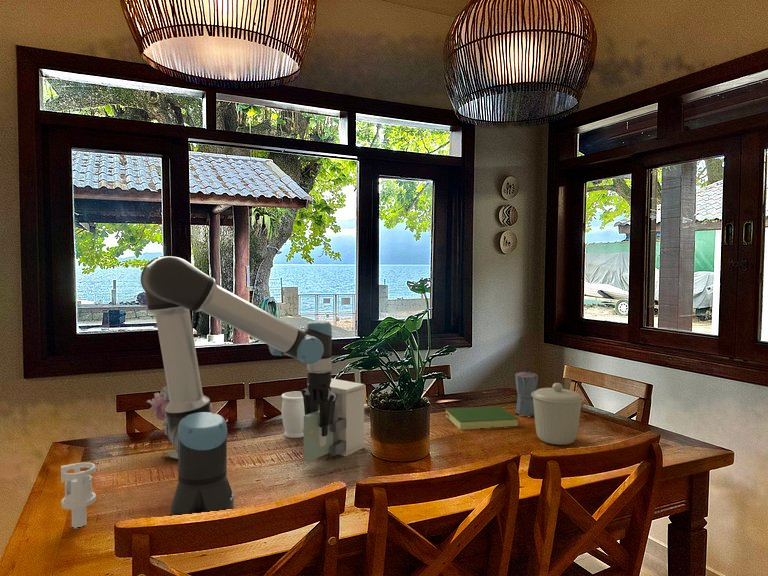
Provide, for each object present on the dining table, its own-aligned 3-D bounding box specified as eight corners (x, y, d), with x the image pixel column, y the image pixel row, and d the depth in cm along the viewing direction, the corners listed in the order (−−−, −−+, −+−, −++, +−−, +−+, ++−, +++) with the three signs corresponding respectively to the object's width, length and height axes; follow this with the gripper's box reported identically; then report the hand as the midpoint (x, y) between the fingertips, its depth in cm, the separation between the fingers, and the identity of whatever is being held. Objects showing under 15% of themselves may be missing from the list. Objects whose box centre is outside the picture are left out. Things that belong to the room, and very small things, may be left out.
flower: (238, 447, 172) (223, 375, 179) (178, 461, 153) (163, 380, 160) (202, 462, 181) (188, 393, 188) (141, 477, 163) (128, 399, 170)
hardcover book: (498, 414, 222) (498, 405, 222) (518, 428, 203) (518, 418, 203) (442, 417, 217) (442, 408, 217) (457, 431, 198) (458, 421, 198)
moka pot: (513, 418, 215) (514, 370, 214) (514, 408, 230) (516, 363, 229) (537, 420, 212) (538, 372, 211) (537, 410, 227) (538, 365, 226)
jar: (304, 440, 184) (304, 398, 183) (276, 438, 186) (276, 397, 185) (313, 431, 194) (314, 391, 194) (288, 429, 197) (288, 390, 196)
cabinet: (334, 462, 165) (334, 393, 164) (294, 450, 174) (295, 385, 173) (364, 447, 178) (364, 384, 177) (325, 437, 187) (326, 377, 186)
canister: (519, 436, 192) (521, 380, 191) (555, 429, 200) (557, 375, 199) (556, 452, 176) (558, 391, 175) (593, 444, 184) (595, 386, 183)
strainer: (60, 522, 124) (59, 461, 124) (94, 515, 128) (93, 455, 128) (62, 535, 118) (61, 471, 118) (97, 527, 122) (96, 464, 122)
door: (310, 462, 157) (310, 417, 156) (301, 460, 159) (301, 415, 158) (340, 448, 169) (340, 406, 169) (332, 446, 171) (332, 404, 171)
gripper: (345, 371, 161) (345, 446, 162) (309, 365, 169) (309, 436, 170) (330, 375, 154) (329, 453, 156) (293, 369, 163) (292, 443, 164)
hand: (318, 444), depth 163 cm, fingers closed on door, 2 cm apart
